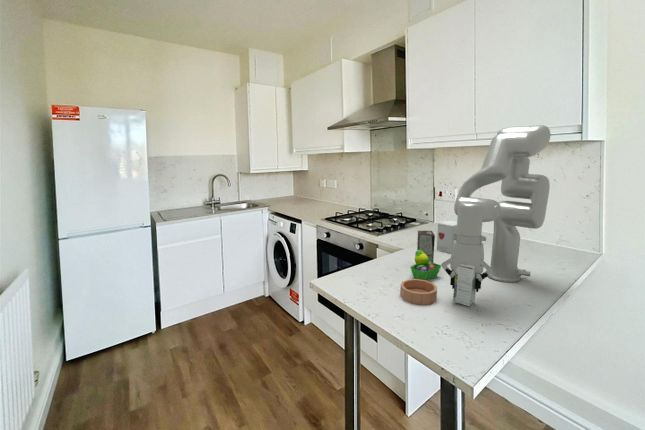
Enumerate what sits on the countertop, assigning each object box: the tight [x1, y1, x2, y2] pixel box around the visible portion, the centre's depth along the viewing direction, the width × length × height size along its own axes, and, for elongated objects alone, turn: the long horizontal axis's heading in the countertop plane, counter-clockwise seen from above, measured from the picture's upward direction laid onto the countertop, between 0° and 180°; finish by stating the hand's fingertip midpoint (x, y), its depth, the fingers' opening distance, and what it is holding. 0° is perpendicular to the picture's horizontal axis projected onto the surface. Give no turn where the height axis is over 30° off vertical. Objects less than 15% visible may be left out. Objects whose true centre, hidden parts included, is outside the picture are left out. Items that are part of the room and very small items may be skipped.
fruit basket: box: [410, 249, 442, 281], centre depth 131 cm, size 11×9×11 cm
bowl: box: [399, 278, 438, 306], centre depth 115 cm, size 12×12×4 cm
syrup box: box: [452, 264, 477, 307], centre depth 108 cm, size 6×6×14 cm
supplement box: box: [436, 219, 457, 255], centre depth 165 cm, size 9×9×15 cm
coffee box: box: [416, 230, 436, 263], centre depth 142 cm, size 9×6×16 cm
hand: (465, 288), depth 109 cm, fingers closed on syrup box, 6 cm apart
